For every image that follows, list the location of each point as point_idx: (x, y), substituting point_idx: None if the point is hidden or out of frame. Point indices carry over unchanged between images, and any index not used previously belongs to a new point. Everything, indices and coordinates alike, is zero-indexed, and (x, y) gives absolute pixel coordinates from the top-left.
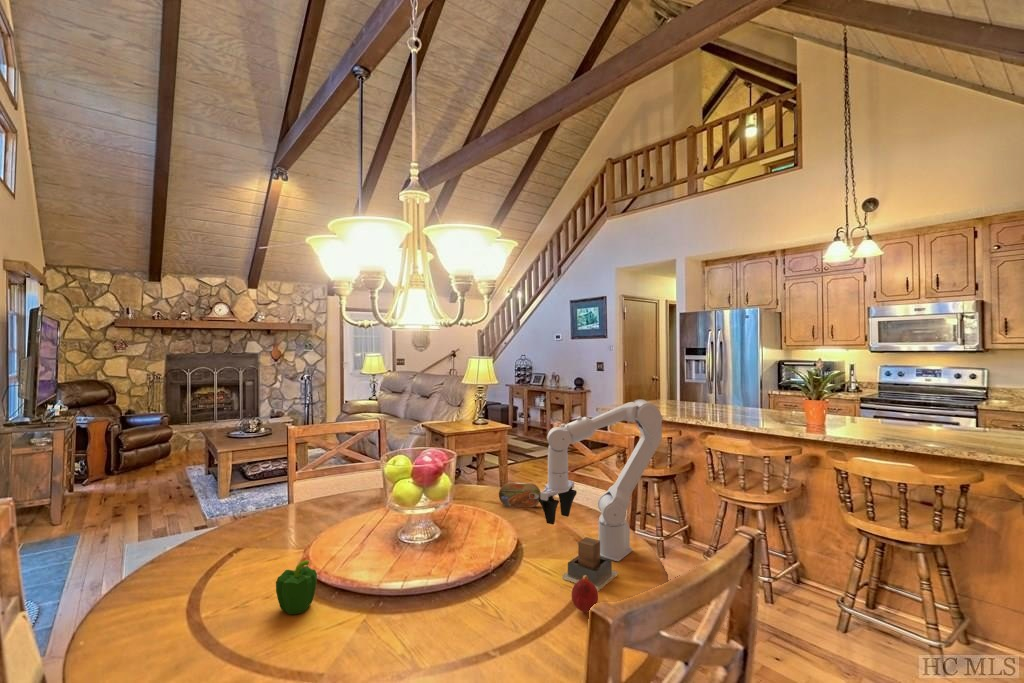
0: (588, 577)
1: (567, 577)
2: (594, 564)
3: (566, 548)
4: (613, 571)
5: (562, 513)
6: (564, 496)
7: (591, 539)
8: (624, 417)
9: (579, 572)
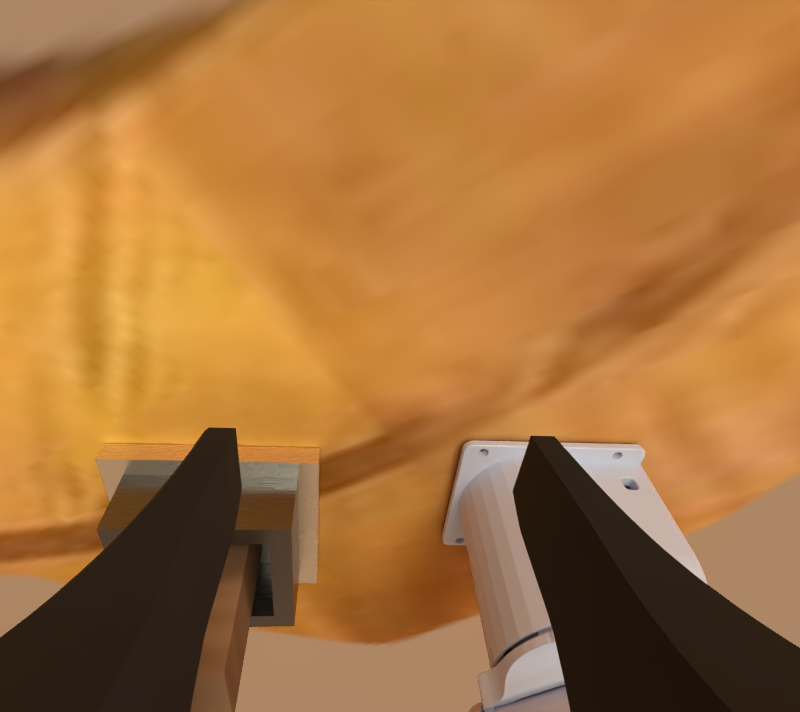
0: None
1: (104, 478)
2: None
3: (476, 296)
4: (308, 575)
5: (534, 461)
6: (621, 703)
7: (212, 696)
8: None
9: None
